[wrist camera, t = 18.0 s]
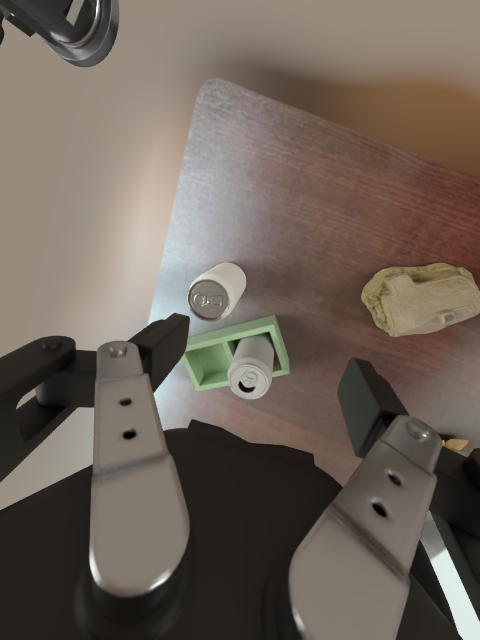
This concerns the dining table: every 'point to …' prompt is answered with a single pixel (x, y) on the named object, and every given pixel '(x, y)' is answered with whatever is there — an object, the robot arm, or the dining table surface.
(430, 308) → the ceramic model
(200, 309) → the can
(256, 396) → the beverage can
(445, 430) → the dining table surface
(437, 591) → the portable speaker
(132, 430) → the robot arm
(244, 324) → the cup holder
